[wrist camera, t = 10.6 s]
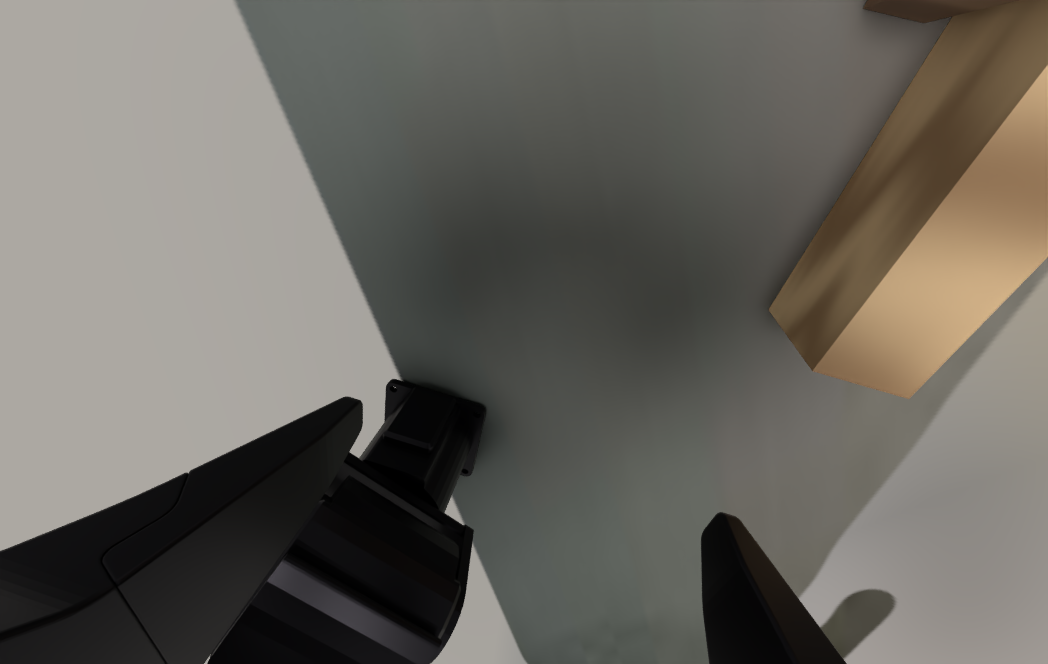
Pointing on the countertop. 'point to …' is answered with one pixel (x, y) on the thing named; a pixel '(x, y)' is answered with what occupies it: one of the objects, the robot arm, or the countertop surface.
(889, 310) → the oak rail
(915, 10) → the notched wooden block
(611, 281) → the countertop surface
